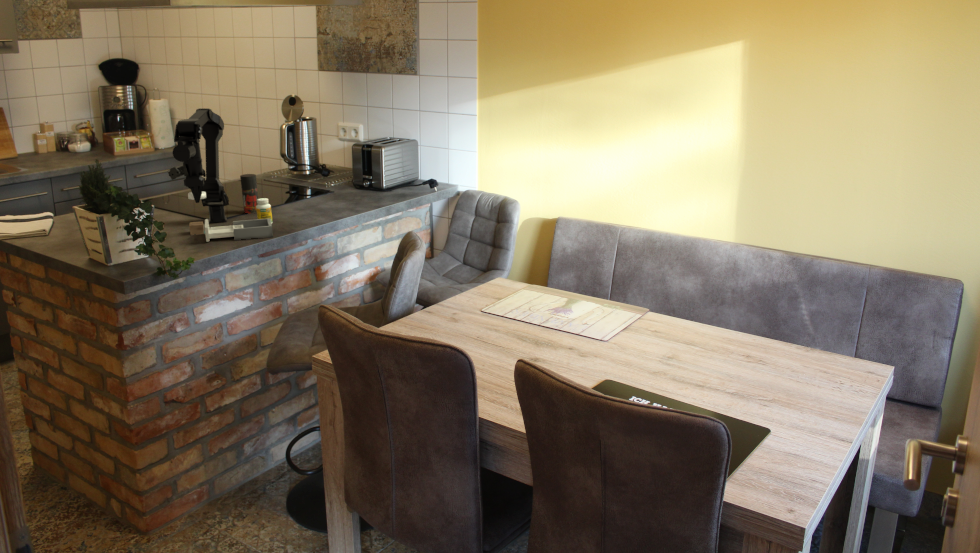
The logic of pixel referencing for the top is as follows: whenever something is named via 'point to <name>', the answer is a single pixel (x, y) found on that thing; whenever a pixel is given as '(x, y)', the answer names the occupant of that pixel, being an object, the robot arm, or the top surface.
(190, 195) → the disc
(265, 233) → the housing
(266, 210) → the supplement bottle
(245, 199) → the deodorant
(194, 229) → the pedestal
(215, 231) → the tray
